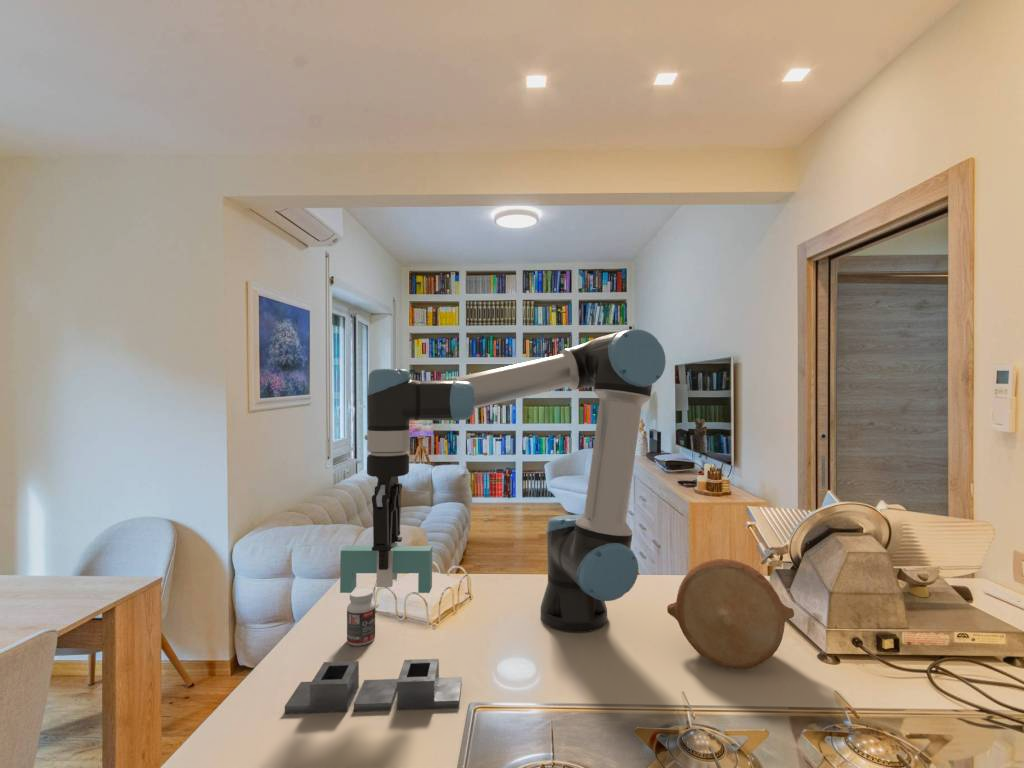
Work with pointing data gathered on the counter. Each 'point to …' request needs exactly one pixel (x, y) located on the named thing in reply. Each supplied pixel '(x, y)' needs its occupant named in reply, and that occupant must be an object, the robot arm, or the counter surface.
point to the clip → (403, 562)
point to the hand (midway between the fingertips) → (387, 582)
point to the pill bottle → (361, 617)
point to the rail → (376, 689)
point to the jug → (730, 613)
